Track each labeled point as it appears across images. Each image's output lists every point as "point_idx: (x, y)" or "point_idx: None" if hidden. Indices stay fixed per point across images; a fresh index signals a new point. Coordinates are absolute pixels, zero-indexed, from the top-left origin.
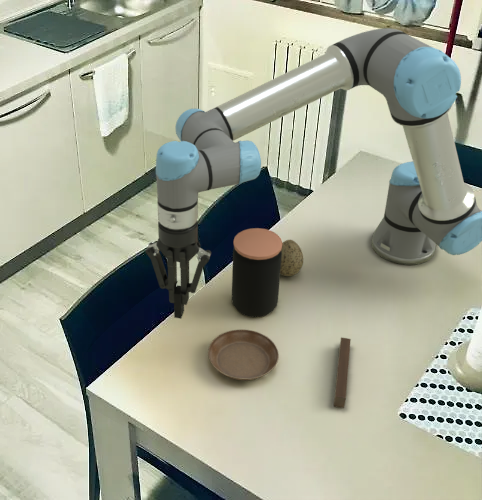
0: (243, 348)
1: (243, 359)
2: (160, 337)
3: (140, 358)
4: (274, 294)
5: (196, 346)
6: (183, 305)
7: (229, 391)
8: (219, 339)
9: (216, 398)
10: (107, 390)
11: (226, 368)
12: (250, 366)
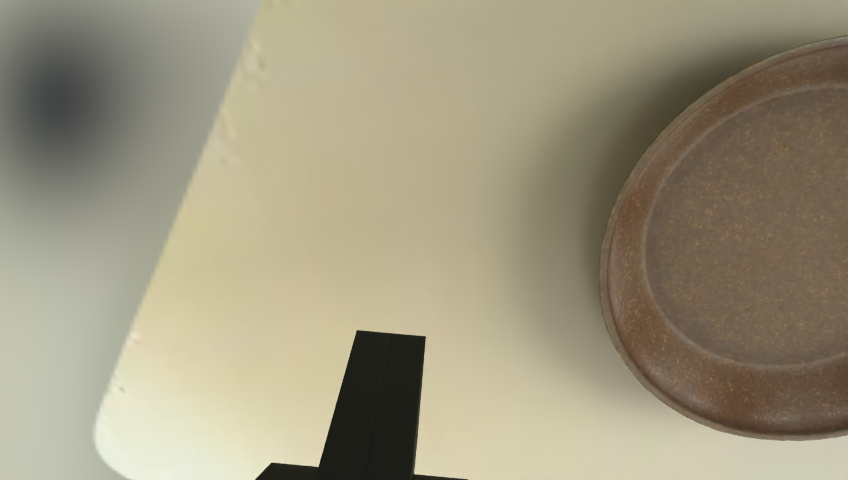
0: (815, 141)
1: (803, 232)
2: (278, 102)
3: (220, 276)
4: None
5: (511, 147)
6: (418, 412)
7: None
8: (670, 137)
9: (636, 459)
10: (147, 463)
11: (695, 308)
12: (838, 280)
